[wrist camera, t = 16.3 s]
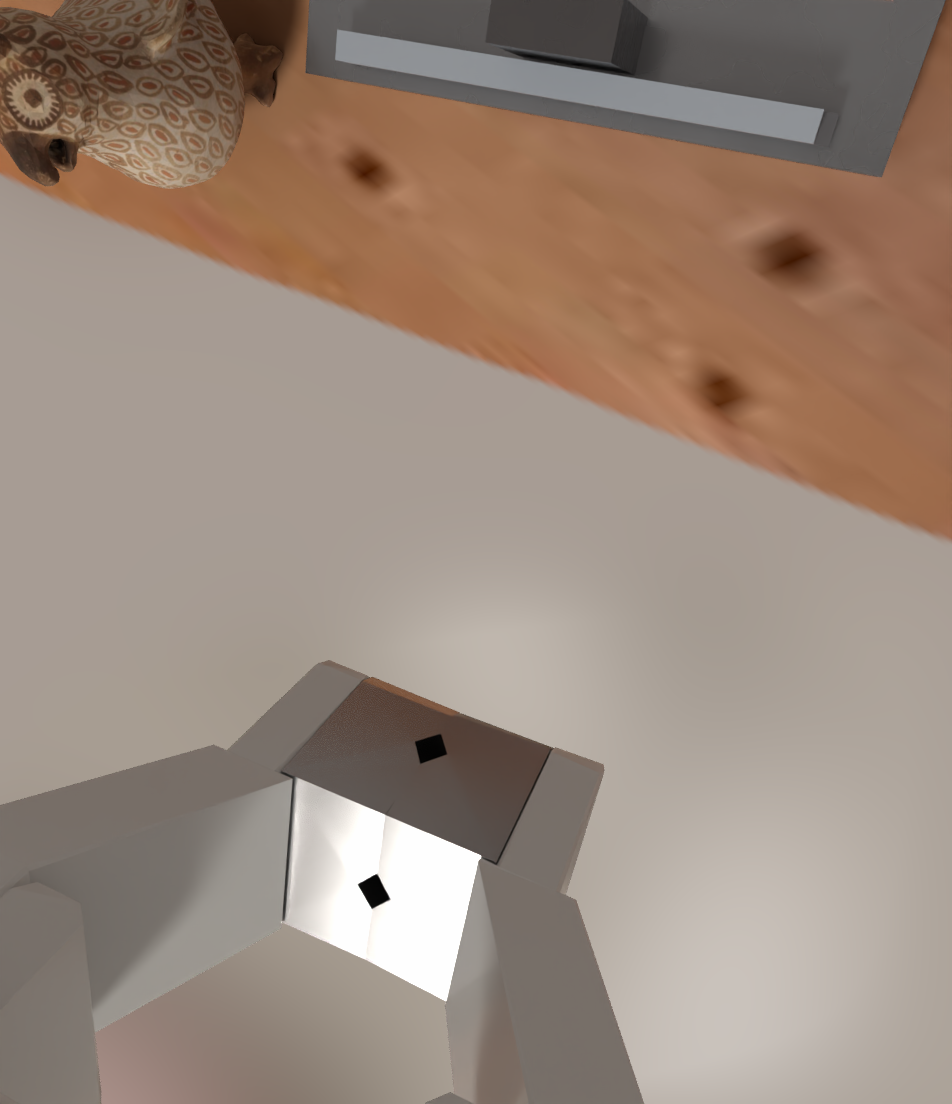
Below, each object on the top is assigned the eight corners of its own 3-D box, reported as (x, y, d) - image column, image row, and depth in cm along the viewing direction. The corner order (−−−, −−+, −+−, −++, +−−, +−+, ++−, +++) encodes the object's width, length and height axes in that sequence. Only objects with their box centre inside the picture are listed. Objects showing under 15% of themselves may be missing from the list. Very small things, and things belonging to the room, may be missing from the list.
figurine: (199, 223, 42) (-70, 244, 29) (107, 25, 40) (-229, -45, 27) (336, 141, 38) (90, 125, 25) (242, -86, 35) (-81, -231, 23)
